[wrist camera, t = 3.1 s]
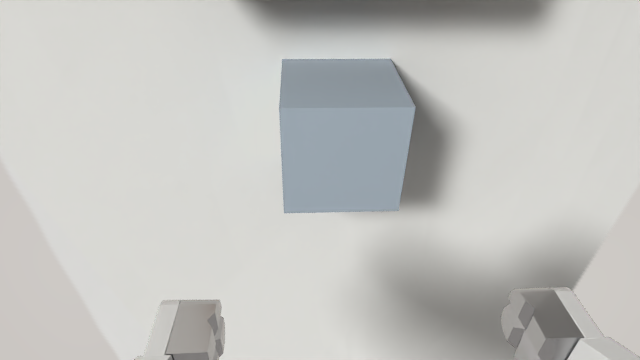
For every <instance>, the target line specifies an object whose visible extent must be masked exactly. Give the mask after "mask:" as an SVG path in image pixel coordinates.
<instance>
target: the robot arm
mask: <svg viewBox="0 0 640 360" xmlns="http://www.w3.org/2000/svg"><path fill="white" fill-rule="evenodd" d="M508 298H509V300H510V302H511V303H510V304H508V305H507V306H506V307H504V308H503V311H502V314H501V326H502V330H503V333H504V336H505V338H506V340H507V342H509V343H510V344H511V345H512V346H514V347H515V348H516V350H515V353H514V357H515V359H516V360H640V357H639V356H637V355H636V354H634V353H633V352H631V351H630V350H628V349H627V348H625V347H624V346H622V345H621V344H619V343H618V342H616V341H615V340H613V339H612V338H610V337H604V336H603V334H602V333H601V331H600V330H599V328H598V327H597V325H596V324H595V323H594V321H593V320H592V318H591V317H590V315H589V314H588V313H587V311H586V310H585V308H584V307H583V305H582V304H581V302H580V301H579V299H578V298H577V297H576V295H575V294H574V292H573V291H572V290H571V289H570V288H568V287H553V288H547V287H543V288H522V289H513V290H512V291H511V292H510V294H509V296H508ZM221 309H222V307H221V302H220V300H163V301H162V303H161V304H160V306H159V308H158V311H157V314H156V317H155V321H154V324H153V327H152V330H151V333H150V336H149V340H148V343H147V346H146V349H145V352H144V355H143V356H137V357H136V358H135V359H134V360H219V357H220V356H221V355H222V354H223V351H224V344H225V323H224V318H223V317H222V316H220V315H221Z"/></svg>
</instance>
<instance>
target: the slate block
mask: <svg viewBox="0 0 640 360" xmlns="http://www.w3.org/2000/svg"><path fill="white" fill-rule="evenodd" d="M415 108H416V107H415V105H414V103H413V101H412V99H411V97H410V95H409V93H408V92H407V90H406V88H405V86H404V84H403V82H402V80H401V78H400V76H399V74H398V72H397V70H396V68H395V66H394V64H393V62H392V60H391V59H282V72H281V88H280V105H279V113H280V135H281V157H282V178H283V200H284V213H316V212H364V211H399V204H400V198H401V192H402V186H403V180H404V174H405V168H406V162H407V156H408V150H409V144H410V138H411V132H412V126H413V120H414V114H415Z"/></svg>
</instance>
